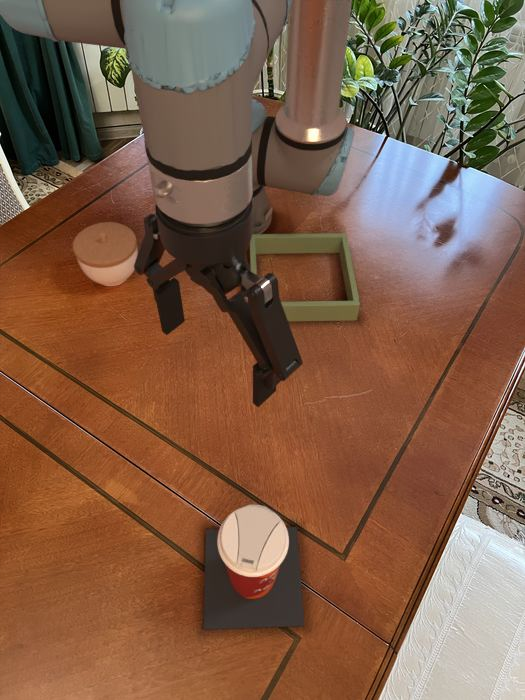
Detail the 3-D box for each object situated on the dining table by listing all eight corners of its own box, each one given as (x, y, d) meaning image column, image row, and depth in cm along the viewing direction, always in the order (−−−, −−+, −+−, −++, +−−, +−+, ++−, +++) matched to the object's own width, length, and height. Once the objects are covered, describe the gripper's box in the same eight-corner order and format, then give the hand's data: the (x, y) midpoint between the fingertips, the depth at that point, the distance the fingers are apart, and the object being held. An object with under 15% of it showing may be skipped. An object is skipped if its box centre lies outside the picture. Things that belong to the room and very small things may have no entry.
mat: (205, 530, 75) (205, 529, 75) (296, 528, 76) (297, 526, 75) (203, 630, 68) (203, 629, 68) (304, 626, 68) (304, 625, 68)
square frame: (249, 250, 109) (249, 234, 105) (343, 249, 109) (346, 233, 106) (252, 322, 98) (252, 306, 94) (356, 320, 98) (360, 304, 95)
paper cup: (277, 614, 69) (282, 580, 58) (215, 600, 69) (208, 564, 58) (288, 550, 73) (295, 507, 62) (230, 538, 74) (226, 493, 63)
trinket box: (152, 262, 106) (145, 222, 99) (125, 302, 100) (115, 262, 92) (101, 248, 108) (90, 208, 101) (71, 286, 102) (57, 247, 94)
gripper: (64, 153, 47) (114, 318, 64) (296, 309, 37) (282, 456, 54) (135, 116, 50) (164, 283, 67) (364, 250, 41) (331, 406, 58)
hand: (217, 360), depth 61 cm, fingers open, 13 cm apart
